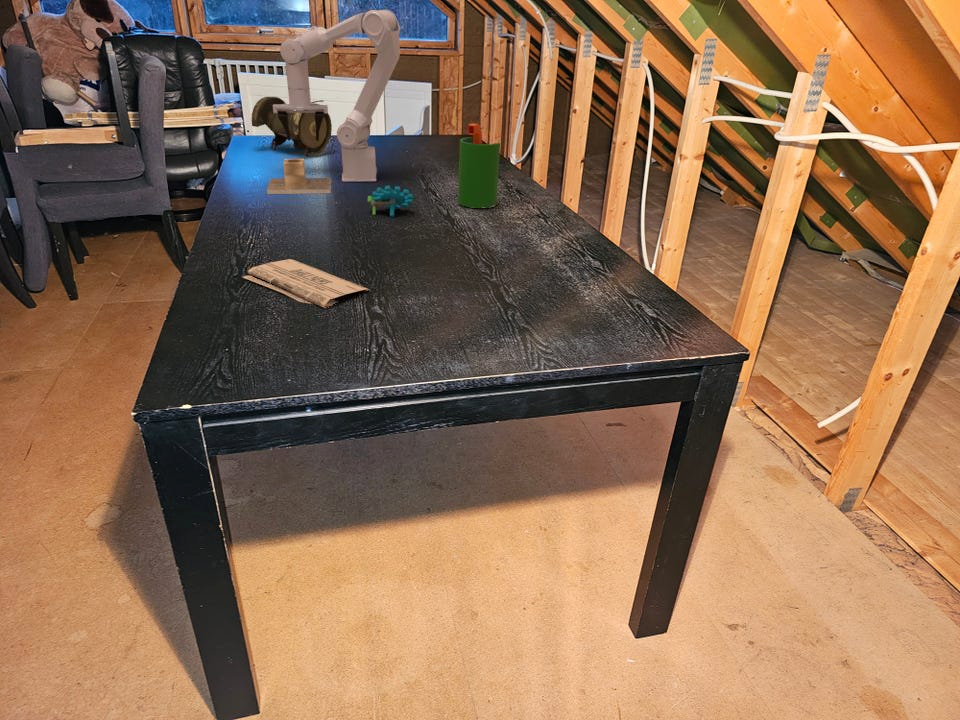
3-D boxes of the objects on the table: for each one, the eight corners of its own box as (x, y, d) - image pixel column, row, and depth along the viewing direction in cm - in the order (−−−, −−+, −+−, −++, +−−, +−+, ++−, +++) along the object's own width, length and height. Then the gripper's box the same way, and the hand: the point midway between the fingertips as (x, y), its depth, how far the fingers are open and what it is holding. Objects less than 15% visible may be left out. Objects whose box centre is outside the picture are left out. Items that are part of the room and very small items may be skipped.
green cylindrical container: (501, 203, 170) (506, 122, 160) (487, 211, 163) (491, 128, 153) (466, 197, 173) (468, 118, 164) (451, 205, 166) (452, 123, 156)
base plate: (331, 181, 182) (329, 162, 179) (330, 193, 172) (329, 173, 169) (271, 182, 179) (269, 162, 177) (267, 194, 169) (264, 173, 166)
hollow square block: (306, 181, 177) (304, 158, 174) (305, 186, 173) (303, 163, 170) (287, 181, 176) (284, 158, 173) (285, 186, 172) (283, 163, 169)
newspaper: (239, 281, 121) (239, 268, 120) (294, 270, 130) (294, 258, 129) (319, 317, 109) (319, 303, 108) (373, 302, 118) (373, 289, 117)
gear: (417, 202, 162) (407, 181, 152) (417, 224, 160) (407, 204, 150) (374, 205, 163) (362, 185, 154) (373, 227, 161) (361, 207, 152)
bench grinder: (292, 152, 196) (310, 85, 193) (242, 138, 206) (259, 74, 203) (336, 171, 214) (353, 110, 211) (288, 157, 224) (304, 99, 221)
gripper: (269, 89, 172) (275, 142, 179) (325, 90, 175) (329, 142, 182) (272, 86, 178) (277, 137, 185) (326, 87, 181) (330, 137, 188)
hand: (303, 139), depth 184 cm, fingers open, 7 cm apart
